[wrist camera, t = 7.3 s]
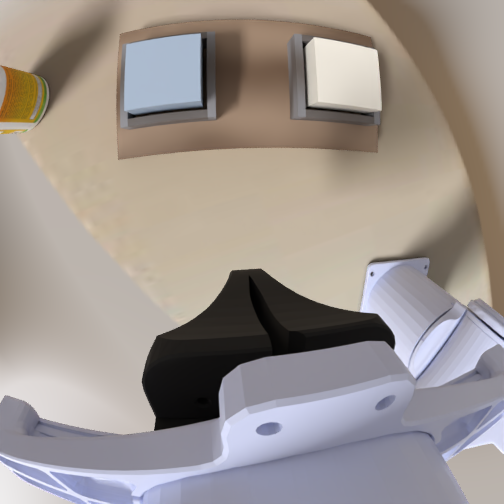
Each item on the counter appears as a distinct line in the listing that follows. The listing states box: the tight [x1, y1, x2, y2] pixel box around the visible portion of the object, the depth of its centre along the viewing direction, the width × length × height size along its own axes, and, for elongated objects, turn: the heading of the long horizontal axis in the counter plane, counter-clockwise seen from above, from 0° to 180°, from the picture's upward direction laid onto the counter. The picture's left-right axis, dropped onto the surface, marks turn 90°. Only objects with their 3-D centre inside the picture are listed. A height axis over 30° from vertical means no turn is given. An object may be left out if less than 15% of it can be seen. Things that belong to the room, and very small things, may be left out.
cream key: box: [303, 37, 382, 113], centre depth 14 cm, size 4×4×2 cm
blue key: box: [124, 33, 203, 115], centre depth 13 cm, size 4×4×2 cm
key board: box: [116, 20, 380, 160], centre depth 16 cm, size 10×19×4 cm, turn 91°
